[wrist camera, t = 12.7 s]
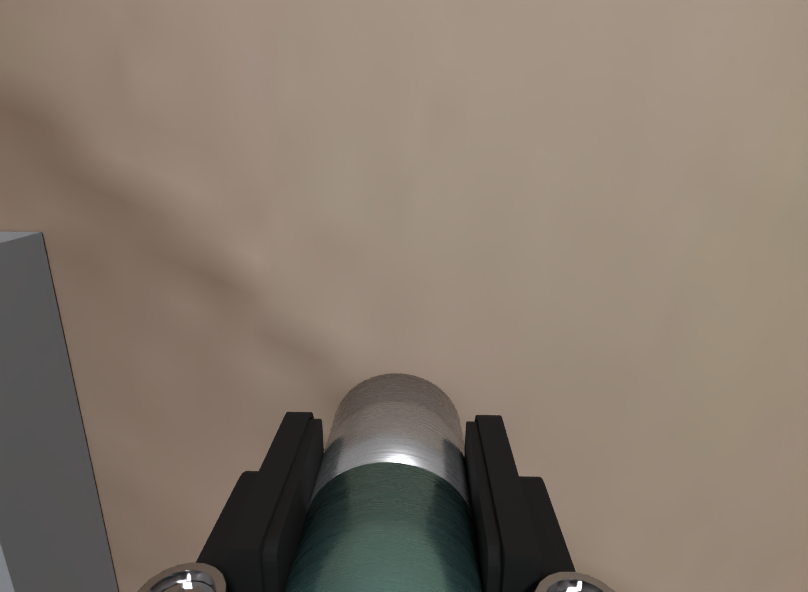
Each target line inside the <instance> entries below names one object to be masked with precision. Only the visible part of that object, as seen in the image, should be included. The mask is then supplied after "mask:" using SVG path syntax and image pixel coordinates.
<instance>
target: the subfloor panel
mask: <svg viewBox="0 0 808 592" xmlns="http://www.w3.org/2000/svg"><path fill="white" fill-rule="evenodd" d="M0 592H118V588H117V583H116V578H115V574H114V569H113V564H112V560H111V555H110V550H109V546H108V541H107V536H106V532H105V527H104V522H103V518H102V513H101V508H100V503H99V499H98V494H97V489H96V485H95V480H94V475H93V471H92V466H91V461H90V457H89V452H88V447H87V443H86V438H85V433H84V429H83V424H82V419H81V415H80V410H79V405H78V401H77V396H76V391H75V386H74V382H73V377H72V372H71V368H70V363H69V358H68V354H67V349H66V344H65V340H64V335H63V330H62V326H61V321H60V316H59V312H58V307H57V302H56V298H55V293H54V288H53V284H52V279H51V274H50V270H49V265H48V260H47V255H46V251H45V246H44V241H43V237H42V232H0Z"/></svg>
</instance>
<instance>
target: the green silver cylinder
mask: <svg viewBox="0 0 808 592" xmlns="http://www.w3.org/2000/svg"><path fill="white" fill-rule="evenodd" d="M284 592H483V586H482V579H481V572H480V564H479V557H478V550H477V543H476V536H475V529H474V522H473V514H472V507H471V500H470V493H469V486H468V479H467V472H466V464H465V453H464V446H463V439H462V432H461V425H460V419H459V416H458V413H457V410H456V408H455V406H454V404H453V403H452V401H451V400H450V399H449V397H448V396H447V395H446V394H445V393H444V392H443V391H442V390H441V389H439V388H438V387H437V386H435V385H434V384H432V383H431V382H429V381H427V380H424V379H422V378H419V377H416V376H412V375H407V374H385V375H379V376H376V377H372V378H370V379H368V380H365V381H363V382H362V383H360V384H358V385H357V386H355V387H354V388H353V389H352V390H350V392H349V393H348V394H347V395H346V396H345V397H344V398H343V400H342V401H341V403H340V405H339V407H338V409H337V411H336V414H335V418H334V421H333V424H332V428H331V431H330V435H329V438H328V442H327V445H326V449H325V452H324V456H323V459H322V463H321V466H320V470H319V473H318V476H317V480H316V483H315V487H314V490H313V494H312V497H311V501H310V504H309V507H308V511H307V514H306V518H305V521H304V525H303V528H302V532H301V535H300V538H299V542H298V545H297V549H296V552H295V556H294V559H293V563H292V566H291V569H290V573H289V576H288V580H287V583H286V587H285V590H284Z"/></svg>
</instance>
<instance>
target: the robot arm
mask: <svg viewBox="0 0 808 592" xmlns="http://www.w3.org/2000/svg"><path fill="white" fill-rule="evenodd" d="M323 456H324V449H323V430H322V420H321V419H314V417H313V413H312V412H287V413H286V414H285V416H284V418H283V421H282V423H281V425H280V427H279V429H278V431H277V433H276V436H275V438H274V440H273V442H272V444H271V446H270V448H269V451H268V453H267V455H266V457H265V459H264V461H263V463H262V466H261V468H260V470H259V471H245V472H243V473H242V475H241V476H240V478H239V479H238V481H237V483H236V485H235V487H234V489H233V491H232V493H231V495H230V497H229V499H228V501H227V503H226V505H225V507H224V509H223V511H222V513H221V514H220V516H219V518H218V520H217V522H216V524H215V526H214V528H213V530H212V532H211V534H210V536H209V538H208V540H207V542H206V544H205V546H204V548H203V550H202V551H201V553H200V555H199V557H198V559H197V561H196V563H186V564H181V565H177V566H174V567H171V568H169V569H166V570H164V571H162V572H161V573H159V574H157V575H156V576H154V577H153V578H151V579H150V580H149V581H147V582H146V583H145V584H144V585H143V586H142V587H141V588H140V589H139V590H138V592H284V590H285V587H286V583H287V580H288V576H289V573H290V569H291V566H292V563H293V559H294V556H295V552H296V549H297V545H298V542H299V538H300V535H301V532H302V528H303V525H304V521H305V518H306V514H307V511H308V507H309V504H310V501H311V497H312V494H313V490H314V487H315V483H316V480H317V476H318V473H319V470H320V466H321V463H322V459H323ZM465 464H466V472H467V479H468V486H469V493H470V500H471V507H472V514H473V522H474V529H475V536H476V543H477V550H478V557H479V564H480V572H481V579H482V586H483V592H615V591H614V590H613V589H611V588H610V587H609V586H607V585H606V584H605V583H603V582H602V581H600V580H598V579H596V578H593V577H591V576H589V575H586V574H582V573H577V572H576V571H575V569H574V566H573V563H572V560H571V557H570V554H569V552H568V549H567V546H566V543H565V540H564V537H563V535H562V532H561V529H560V526H559V523H558V521H557V518H556V515H555V512H554V509H553V506H552V504H551V501H550V498H549V495H548V492H547V489H546V487H545V484H544V482H543V480H542V478H541V477H521V476H519V475H518V472H517V468H516V465H515V461H514V458H513V454H512V451H511V447H510V444H509V440H508V437H507V433H506V430H505V427H504V423H503V420H502V417H501V416H500V415H476V417H475V422H468V421H467V422H466V436H465Z"/></svg>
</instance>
